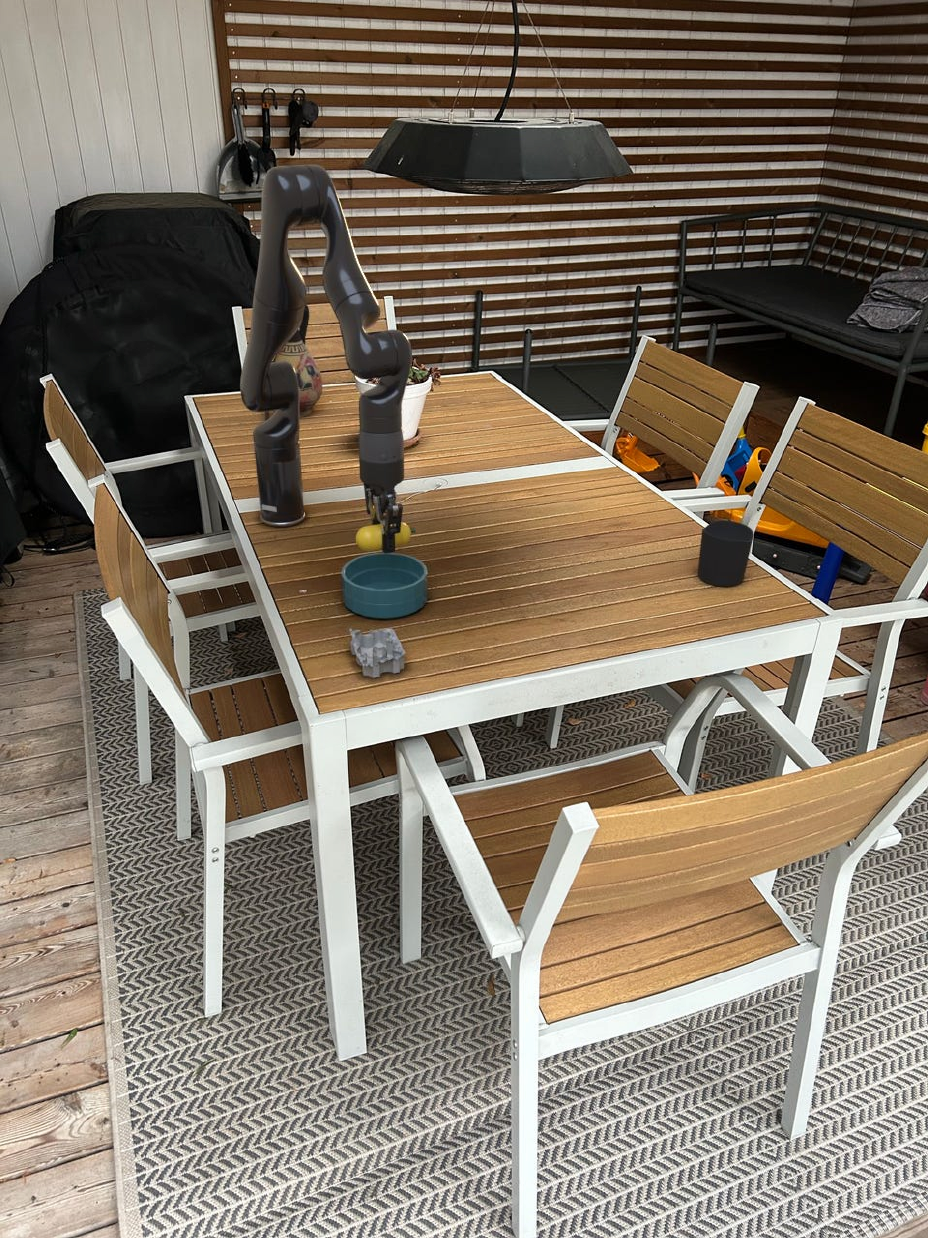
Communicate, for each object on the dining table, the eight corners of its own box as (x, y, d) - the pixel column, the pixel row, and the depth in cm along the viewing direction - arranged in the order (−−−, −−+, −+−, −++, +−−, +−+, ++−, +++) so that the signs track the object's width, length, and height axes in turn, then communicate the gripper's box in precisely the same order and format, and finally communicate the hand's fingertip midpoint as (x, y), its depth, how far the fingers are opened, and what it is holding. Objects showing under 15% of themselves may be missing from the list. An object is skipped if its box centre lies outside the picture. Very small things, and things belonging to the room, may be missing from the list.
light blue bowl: (327, 596, 173) (325, 566, 170) (395, 574, 182) (395, 545, 179) (373, 629, 163) (372, 598, 160) (443, 604, 171) (444, 574, 168)
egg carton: (347, 648, 158) (346, 626, 156) (391, 641, 160) (391, 620, 158) (362, 681, 149) (361, 658, 147) (408, 673, 151) (408, 651, 149)
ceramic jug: (300, 424, 260) (293, 312, 245) (257, 415, 267) (247, 304, 252) (338, 409, 273) (333, 301, 258) (296, 400, 280) (289, 295, 265)
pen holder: (753, 586, 180) (762, 538, 175) (707, 590, 178) (715, 542, 173) (731, 565, 188) (740, 518, 183) (687, 568, 186) (694, 521, 181)
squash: (360, 557, 164) (359, 533, 161) (352, 547, 167) (351, 524, 165) (419, 547, 167) (419, 524, 165) (410, 538, 171) (410, 515, 169)
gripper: (417, 464, 154) (418, 559, 163) (388, 438, 166) (390, 528, 174) (374, 470, 152) (376, 566, 160) (347, 443, 163) (351, 534, 171)
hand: (383, 546), depth 167 cm, fingers closed on squash, 4 cm apart
